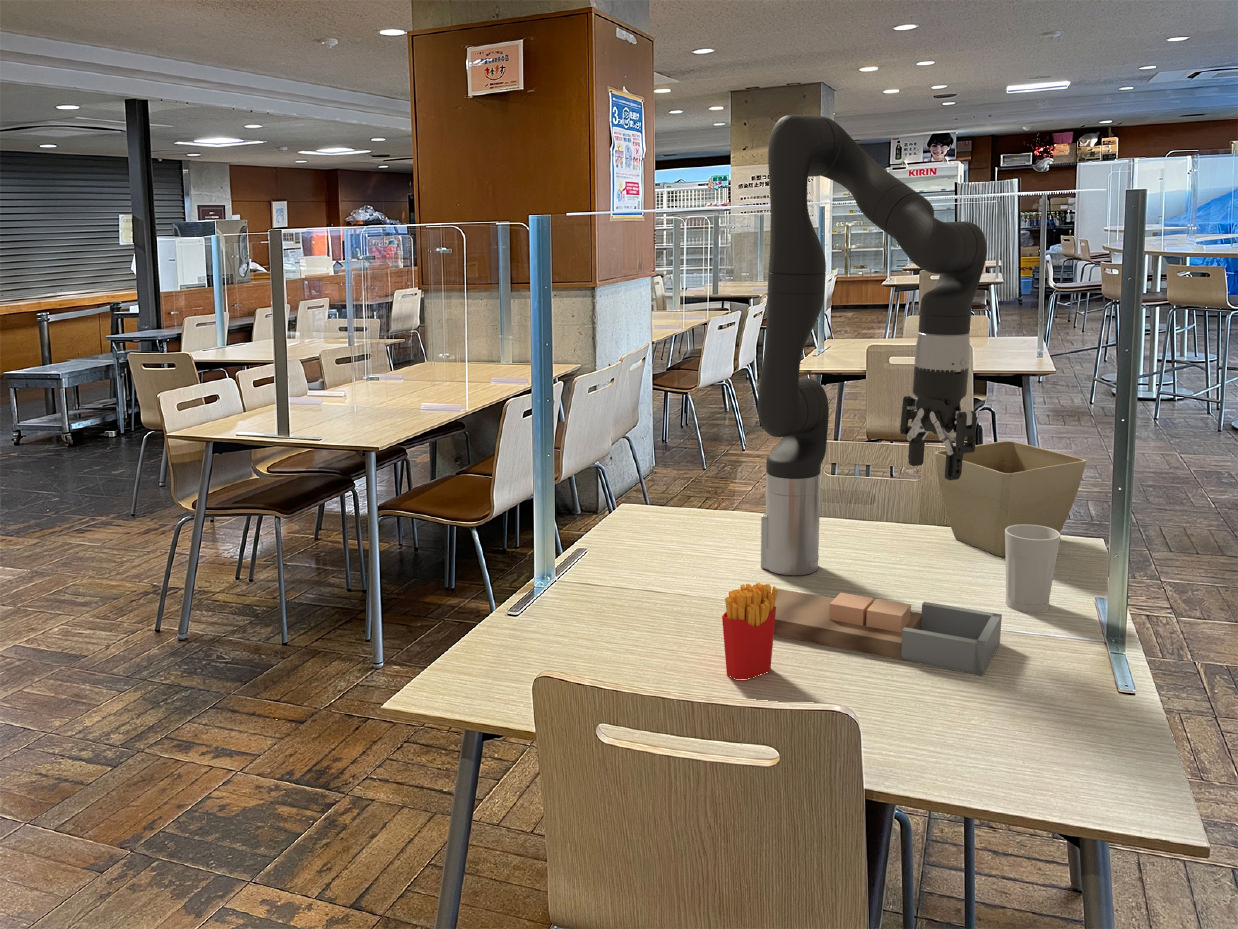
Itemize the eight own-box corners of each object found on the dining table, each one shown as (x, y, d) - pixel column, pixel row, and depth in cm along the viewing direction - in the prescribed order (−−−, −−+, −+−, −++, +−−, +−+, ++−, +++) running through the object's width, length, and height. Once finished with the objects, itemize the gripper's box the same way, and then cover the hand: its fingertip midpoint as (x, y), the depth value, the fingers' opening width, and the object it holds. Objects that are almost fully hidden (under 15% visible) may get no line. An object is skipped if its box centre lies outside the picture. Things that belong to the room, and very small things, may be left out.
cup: (1059, 616, 155) (1065, 541, 152) (1004, 613, 157) (1009, 539, 154) (1048, 597, 163) (1054, 525, 160) (996, 594, 164) (1001, 523, 161)
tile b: (866, 626, 146) (866, 610, 146) (876, 614, 151) (876, 598, 150) (900, 632, 144) (901, 616, 143) (910, 620, 148) (910, 604, 148)
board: (747, 629, 152) (747, 614, 152) (776, 603, 163) (777, 588, 162) (900, 659, 141) (901, 643, 141) (922, 629, 151) (923, 613, 151)
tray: (900, 659, 141) (902, 630, 140) (922, 629, 151) (924, 601, 150) (982, 675, 136) (985, 645, 135) (999, 643, 146) (1001, 614, 145)
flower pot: (1000, 566, 177) (1007, 472, 173) (927, 536, 194) (931, 450, 190) (1081, 550, 184) (1089, 460, 180) (1003, 523, 201) (1009, 439, 197)
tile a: (829, 619, 149) (829, 603, 149) (840, 608, 153) (840, 592, 153) (862, 625, 147) (863, 609, 146) (872, 614, 151) (873, 598, 150)
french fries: (736, 685, 135) (736, 600, 132) (716, 674, 138) (716, 591, 135) (782, 668, 139) (784, 585, 137) (763, 658, 143) (764, 577, 140)
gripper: (890, 358, 152) (883, 463, 156) (952, 373, 139) (943, 487, 143) (931, 355, 154) (924, 458, 159) (996, 369, 142) (986, 481, 146)
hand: (933, 472), depth 151 cm, fingers open, 8 cm apart
